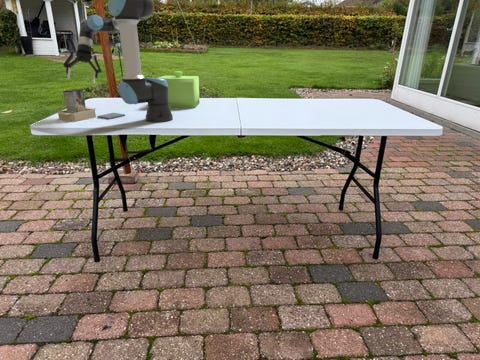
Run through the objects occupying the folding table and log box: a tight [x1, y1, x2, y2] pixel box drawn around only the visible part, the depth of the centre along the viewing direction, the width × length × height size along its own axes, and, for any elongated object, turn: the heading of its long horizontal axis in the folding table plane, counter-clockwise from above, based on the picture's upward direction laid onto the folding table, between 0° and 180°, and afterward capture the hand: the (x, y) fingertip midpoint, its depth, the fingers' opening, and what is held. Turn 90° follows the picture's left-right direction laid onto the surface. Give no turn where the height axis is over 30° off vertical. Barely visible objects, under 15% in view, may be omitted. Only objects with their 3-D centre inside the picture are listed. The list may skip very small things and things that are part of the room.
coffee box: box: [62, 88, 87, 113], centre depth 197 cm, size 9×6×16 cm
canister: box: [158, 70, 200, 109], centre depth 241 cm, size 25×21×23 cm
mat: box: [96, 112, 126, 120], centre depth 204 cm, size 10×12×1 cm
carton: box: [55, 106, 97, 123], centre depth 199 cm, size 13×20×4 cm, turn 152°
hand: (81, 81), depth 200 cm, fingers open, 13 cm apart
